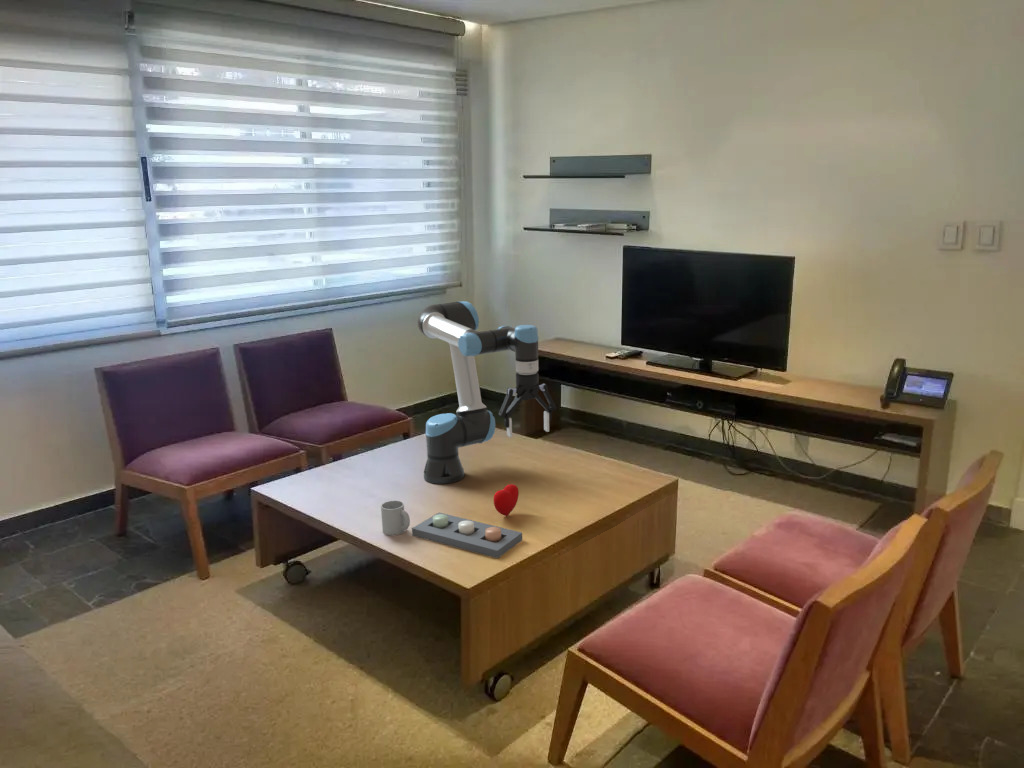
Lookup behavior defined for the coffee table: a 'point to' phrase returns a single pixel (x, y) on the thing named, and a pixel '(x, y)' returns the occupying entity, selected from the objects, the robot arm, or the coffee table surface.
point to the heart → (506, 499)
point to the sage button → (440, 521)
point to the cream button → (466, 527)
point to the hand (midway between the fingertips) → (528, 433)
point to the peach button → (493, 534)
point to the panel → (472, 542)
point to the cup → (394, 518)
